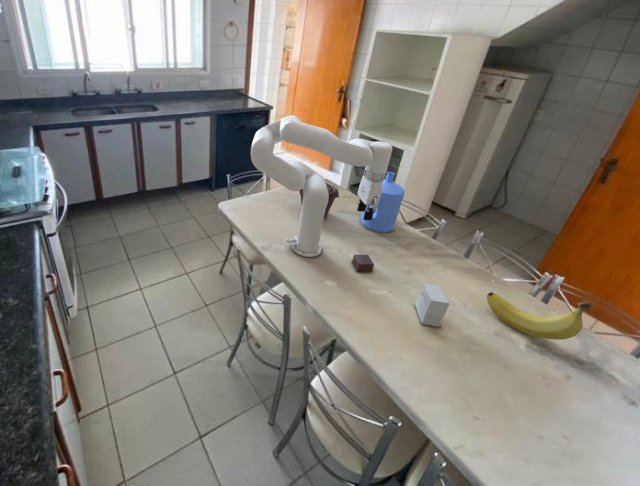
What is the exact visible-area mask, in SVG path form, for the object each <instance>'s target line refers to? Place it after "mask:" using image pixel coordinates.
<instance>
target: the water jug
mask: <svg viewBox="0 0 640 486" xmlns="http://www.w3.org/2000/svg"><path fill="white" fill-rule="evenodd" d="M395 174H396V173H395V172H393V171H386V175H385V179H384V181H383V185H382V192H381V196H380V200H379V203H378V209H377V210H376V211H375V212H374V213H373V217H372V220H364V219H363V218H364V214H365V211H367V206H366V210H365V211H362V214H361V216H360V223H361V225H363V227H365V228H367V229H368V230H370V231H373V232H375V233H380V234H381V233H382V234H383V233H385V234H386V233H391V232H392V231H393V230H394V229H395V227H396V221H397V219H398V215H399V214H400V213H399V212H400V209H401V205H402V202H403V200H404V197H405V193H406V192H405V191H406V190H405V189H404V187H403V186H401V185H400V184H398V183H396V182H395V181H394V178H395ZM369 208H372V206H370V207H369Z"/></svg>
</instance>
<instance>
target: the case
mask: <svg viewBox="0 0 640 486" xmlns="http://www.w3.org/2000/svg"><path fill="white" fill-rule="evenodd" d="M326 185H327V189H328V194H329V199H328V204H327V207H326V210H325V214H324V219H323V220H325V219H326V218H327V216H328V214H329V212H330V211H331V208H332V206H333V203H334V201H335V199H337V198H340V194H339V190H338V188H337V187H336V186H334V185H331V184H329V183H327V182H326ZM298 192H299V196H300V207H301V208H302V203H303V195H304V194H303V189H301V190H299V191H298Z"/></svg>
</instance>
